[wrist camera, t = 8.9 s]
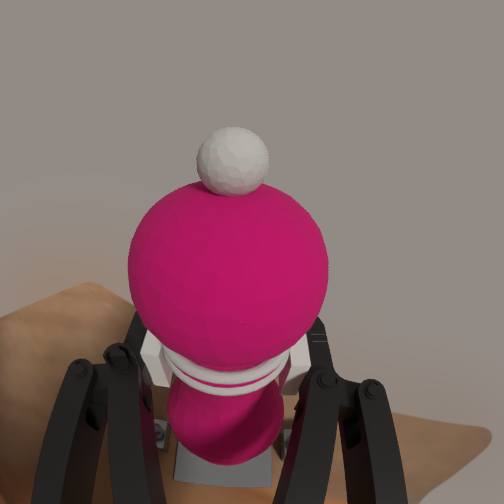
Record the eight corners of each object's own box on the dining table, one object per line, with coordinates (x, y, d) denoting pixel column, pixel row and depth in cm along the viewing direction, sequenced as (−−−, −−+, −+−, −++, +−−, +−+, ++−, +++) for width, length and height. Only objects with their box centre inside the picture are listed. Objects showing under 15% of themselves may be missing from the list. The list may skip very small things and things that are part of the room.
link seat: (174, 480, 17) (173, 480, 17) (184, 403, 25) (183, 402, 24) (271, 487, 18) (272, 486, 17) (269, 409, 25) (269, 408, 25)
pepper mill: (289, 417, 18) (396, 146, 7) (241, 488, 13) (371, 249, 2) (213, 376, 21) (211, 109, 10) (160, 436, 16) (35, 149, 5)
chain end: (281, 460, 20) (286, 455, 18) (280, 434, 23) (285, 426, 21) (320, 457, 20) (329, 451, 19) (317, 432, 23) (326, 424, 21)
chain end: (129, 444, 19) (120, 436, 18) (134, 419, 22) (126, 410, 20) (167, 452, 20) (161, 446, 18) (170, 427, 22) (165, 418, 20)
